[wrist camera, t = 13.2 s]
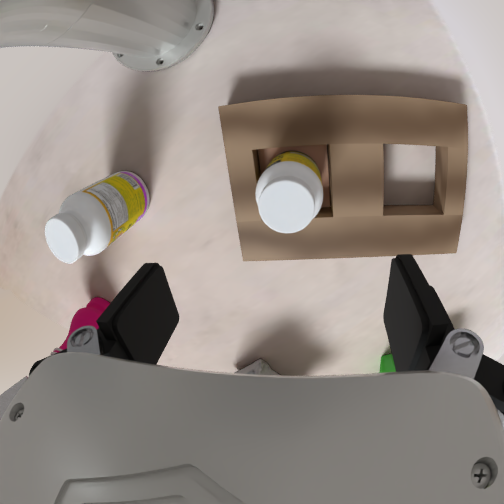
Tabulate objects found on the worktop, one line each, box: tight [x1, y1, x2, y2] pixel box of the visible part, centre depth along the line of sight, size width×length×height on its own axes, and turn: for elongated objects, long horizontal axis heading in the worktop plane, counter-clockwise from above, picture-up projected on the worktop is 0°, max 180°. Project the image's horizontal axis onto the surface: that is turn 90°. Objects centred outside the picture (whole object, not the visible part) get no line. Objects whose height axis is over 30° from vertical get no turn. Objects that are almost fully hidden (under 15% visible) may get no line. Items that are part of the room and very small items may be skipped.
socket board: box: [218, 95, 468, 261], centre depth 26 cm, size 16×24×3 cm, turn 98°
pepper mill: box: [51, 297, 110, 355], centre depth 35 cm, size 7×7×20 cm
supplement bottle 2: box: [255, 150, 323, 233], centre depth 24 cm, size 5×5×10 cm
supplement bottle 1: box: [45, 171, 149, 263], centre depth 27 cm, size 7×7×13 cm
